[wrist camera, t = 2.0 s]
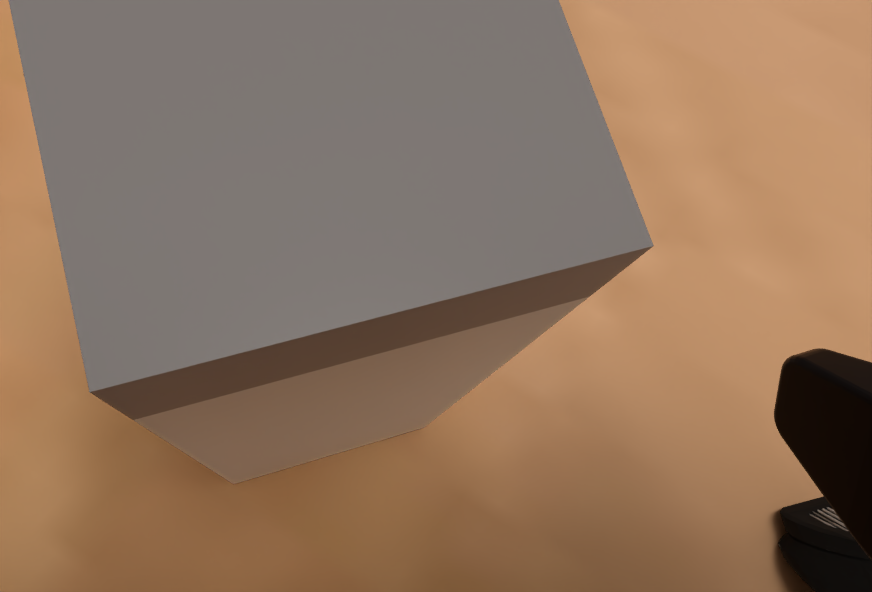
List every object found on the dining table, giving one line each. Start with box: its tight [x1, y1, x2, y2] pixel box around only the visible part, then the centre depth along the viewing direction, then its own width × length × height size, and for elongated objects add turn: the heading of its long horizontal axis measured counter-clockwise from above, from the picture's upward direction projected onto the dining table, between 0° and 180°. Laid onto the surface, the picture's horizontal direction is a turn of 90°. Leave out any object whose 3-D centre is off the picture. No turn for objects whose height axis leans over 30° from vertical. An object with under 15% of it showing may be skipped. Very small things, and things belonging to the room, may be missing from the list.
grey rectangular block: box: [9, 0, 653, 484], centre depth 12 cm, size 4×4×12 cm
